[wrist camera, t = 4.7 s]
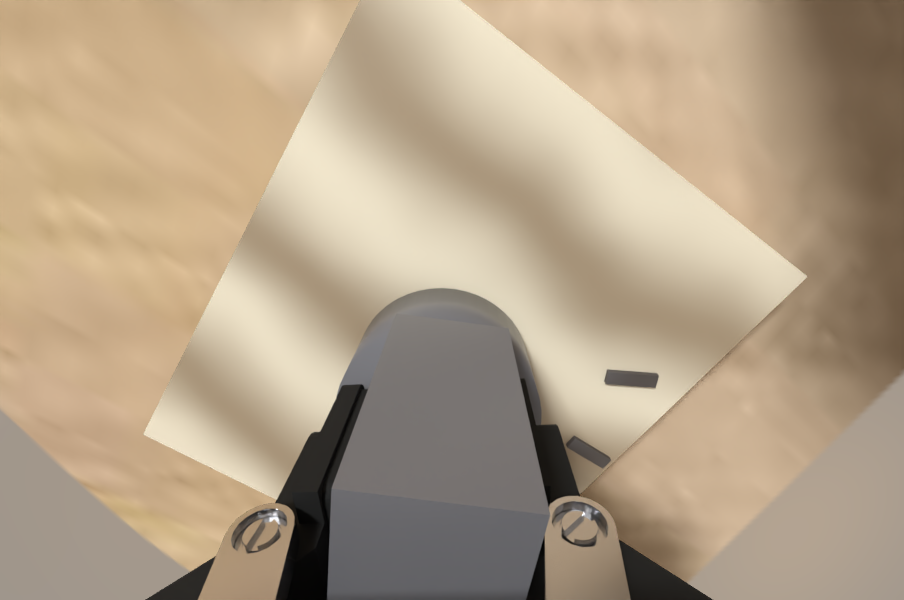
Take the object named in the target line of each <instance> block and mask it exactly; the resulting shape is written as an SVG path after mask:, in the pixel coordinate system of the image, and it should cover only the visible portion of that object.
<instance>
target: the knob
mask: <svg viewBox="0 0 904 600" xmlns="http://www.w3.org/2000/svg"><path fill="white" fill-rule="evenodd" d="M520 378H525V381H526V385H527V389H528V393H529V398H530V402H531V406H532V410H533V414H534V418H535V422H536V425H541V416H542V410H541V403H540V398H539V394H538V390H537V387H536V383H535V380H534V376H533V373H532V369H531V366H530V362H529V358H528V355H527V351H526V348H525V345H524V341H523V339H522V337H521V334H520V332H519V330H518V329H517V327H516V326H515V324H514V323H513V321H512V320H511V319H510V318H509V317H508V316H507V315H506V314H505V313H504V312H503V311H502V310H501V309H500V308H498V307H497V306H496V305H494V304H493V303H491V302H490V301H488V300H486V299H484V298H482V297H480V296H478V295H476V294H473V293H469V292H466V291H462V290H457V289H448V288H434V289H426V290H420V291H416V292H413V293H410V294H407V295H405V296H403V297H400V298H398V299H396V300H395V301H393V302H392V303H390V304H389V305H387V306H386V307H385V308H384V309H382V310H381V311H380V312H379V313H378V314H377V315H376V317H375V318H374V319H373V320H372V321H371V323H370V324H369V326H368V327H367V329H366V331H365V333H364V335H363V337H362V340H361V342H360V344H359V346H358V348H357V350H356V352H355V354H354V356H353V358H352V360H351V362H350V364H349V366H348V368H347V370H346V372H345V374H344V377H343V379H342V381H341V383H340V386H339V389H338V393H339V391H340V389H341V387H342V386H343V385H356V384H362V385H363V386H364V389H368V391H367V393H366V396H365V399H364V402H363V404H362V407H361V410H360V412H359V415H358V418H357V421H356V423H355V426H354V429H353V431H352V434H351V437H350V440H349V442H348V445H347V448H346V450H345V453H344V456H343V459H342V461H341V464H340V467H339V469H338V472H337V475H336V478H335V480H334V483H333V486H332V488H331V513H330V538H329V564H328V589H327V600H526V597H527V594H528V590H529V587H530V584H531V580H532V577H533V573H534V570H535V566H536V563H537V559H538V556H539V553H540V549H541V546H542V542H543V539H544V535H545V532H546V528H547V525H548V521H549V518H550V511H549V507H548V503H547V498H546V494H545V489H544V485H543V480H542V476H541V471H540V467H539V462H538V458H537V453H536V449H535V444H534V440H533V435H532V431H531V426H530V422H529V418H528V413H527V409H526V404H525V400H524V395H523V391H522V386H521V382H520ZM338 393H337V395H338ZM336 397H337V396H336Z"/></svg>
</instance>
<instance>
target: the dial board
mask: <svg viewBox="0 0 904 600" xmlns="http://www.w3.org/2000/svg"><path fill="white" fill-rule="evenodd" d="M807 277H808V276H806V275H805V274H804V273H802V272H801V271H800V270H799V269H797V268H796V267H795V266H794V265H792V264H791V263H790V262H789V261H787V260H786V259H785V258H784V257H782V256H781V255H780V254H779V253H777V252H776V251H775V250H774V249H772V248H771V247H770V246H769V245H767V244H766V243H765V242H763V241H762V240H761V239H760V238H758V237H757V236H756V235H755V234H753V233H752V232H751V231H750V230H748V229H747V228H746V227H745V226H743V225H742V224H741V223H740V222H738V221H737V220H736V219H735V218H733V217H732V216H731V215H729V214H728V213H727V212H726V211H724V210H723V209H722V208H721V207H719V206H718V205H717V204H716V203H714V202H713V201H712V200H711V199H709V198H708V197H707V196H706V195H704V194H703V193H702V192H701V191H699V190H698V189H697V188H696V187H694V186H693V185H692V184H690V183H689V182H688V181H687V180H685V179H684V178H683V177H682V176H680V175H679V174H678V173H677V172H675V171H674V170H673V169H672V168H670V167H669V166H668V165H667V164H665V163H664V162H663V161H662V160H660V159H659V158H658V157H656V156H655V155H654V154H653V153H651V152H650V151H649V150H648V149H646V148H645V147H644V146H643V145H641V144H640V143H639V142H638V141H636V140H635V139H634V138H633V137H631V136H630V135H629V134H628V133H626V132H625V131H624V130H623V129H621V128H620V127H619V126H617V125H616V124H615V123H614V122H612V121H611V120H610V119H609V118H607V117H606V116H605V115H604V114H602V113H601V112H600V111H599V110H597V109H596V108H595V107H594V106H592V105H591V104H590V103H589V102H587V101H586V100H585V99H584V98H582V97H581V96H580V95H578V94H577V93H576V92H575V91H573V90H572V89H571V88H570V87H568V86H567V85H566V84H565V83H563V82H562V81H561V80H560V79H558V78H557V77H556V76H555V75H553V74H552V73H551V72H550V71H548V70H547V69H546V68H544V67H543V66H542V65H541V64H539V63H538V62H537V61H536V60H534V59H533V58H532V57H531V56H529V55H528V54H527V53H526V52H524V51H523V50H522V49H521V48H519V47H518V46H517V45H516V44H514V43H513V42H512V41H511V40H509V39H508V38H507V37H505V36H504V35H503V34H502V33H500V32H499V31H498V30H497V29H495V28H494V27H493V26H492V25H490V24H489V23H488V22H487V21H485V20H484V19H483V18H482V17H480V16H479V15H478V14H477V13H475V12H474V11H473V10H471V9H470V8H469V7H468V6H466V5H465V4H464V3H463V2H461V1H460V0H360V2H359V4H358V6H357V8H356V10H355V12H354V14H353V16H352V18H351V20H350V22H349V24H348V26H347V28H346V30H345V32H344V34H343V36H342V38H341V40H340V42H339V44H338V46H337V48H336V50H335V52H334V54H333V56H332V58H331V60H330V62H329V64H328V66H327V68H326V70H325V72H324V74H323V76H322V78H321V80H320V82H319V84H318V86H317V88H316V90H315V92H314V94H313V96H312V98H311V100H310V102H309V104H308V106H307V108H306V110H305V112H304V114H303V116H302V118H301V120H300V122H299V124H298V126H297V128H296V130H295V132H294V134H293V136H292V138H291V140H290V142H289V144H288V146H287V148H286V150H285V152H284V154H283V156H282V158H281V160H280V162H279V164H278V166H277V168H276V170H275V172H274V174H273V176H272V178H271V180H270V182H269V184H268V186H267V188H266V190H265V192H264V194H263V196H262V198H261V200H260V202H259V204H258V206H257V208H256V210H255V212H254V214H253V216H252V218H251V220H250V222H249V224H248V226H247V228H246V230H245V232H244V234H243V236H242V238H241V240H240V242H239V244H238V246H237V248H236V250H235V252H234V254H233V256H232V258H231V260H230V262H229V264H228V266H227V268H226V270H225V272H224V274H223V276H222V278H221V280H220V282H219V284H218V286H217V288H216V290H215V292H214V294H213V296H212V298H211V300H210V302H209V304H208V306H207V308H206V310H205V312H204V314H203V316H202V318H201V320H200V322H199V324H198V326H197V328H196V330H195V332H194V334H193V336H192V338H191V340H190V342H189V344H188V346H187V348H186V350H185V352H184V354H183V356H182V358H181V360H180V362H179V364H178V366H177V368H176V370H175V372H174V374H173V376H172V378H171V380H170V382H169V384H168V386H167V388H166V390H165V392H164V394H163V396H162V398H161V400H160V402H159V404H158V406H157V408H156V410H155V412H154V414H153V416H152V418H151V420H150V422H149V424H148V426H147V428H146V430H145V432H144V434H143V435H145V436H147V437H149V438H151V439H153V440H155V441H157V442H159V443H161V444H164V445H166V446H168V447H170V448H172V449H174V450H176V451H178V452H180V453H182V454H184V455H186V456H188V457H190V458H192V459H194V460H196V461H198V462H200V463H202V464H204V465H206V466H208V467H210V468H212V469H215V470H217V471H219V472H221V473H223V474H225V475H227V476H229V477H231V478H233V479H235V480H237V481H239V482H241V483H243V484H245V485H247V486H249V487H251V488H253V489H255V490H257V491H259V492H261V493H263V494H265V495H268V496H270V497H272V498H274V499H276V500H277V499H278V497H279V495H280V493H281V491H282V489H283V487H284V485H285V483H286V481H287V479H288V477H289V475H290V473H291V471H292V469H293V467H294V465H295V463H296V461H297V459H298V457H299V455H300V453H301V451H302V449H303V447H304V445H305V443H306V441H307V439H308V437H309V436H310V434H311V433H313V432H320V431H321V429H322V427H323V425H324V423H325V421H326V418H327V416H328V414H329V412H330V410H331V408H332V406H333V404H334V402H335V400H336V396H337V393H338V389H339V386H340V383H341V381H342V379H343V377H344V374H345V372H346V370H347V368H348V366H349V364H350V362H351V360H352V358H353V356H354V354H355V352H356V350H357V348H358V346H359V344H360V342H361V340H362V337H363V335H364V333H365V331H366V329H367V327H368V326H369V324H370V323H371V321H372V320H373V319H374V318H375V317H376V315H377V314H378V313H379V312H380V311H381V310H382V309H384V308H385V307H386V306H387V305H389V304H390V303H392V302H393V301H395V300H396V299H398V298H400V297H403V296H405V295H407V294H410V293H413V292H416V291H420V290H426V289H434V288H448V289H457V290H462V291H466V292H469V293H473V294H476V295H478V296H480V297H482V298H484V299H486V300H488V301H490V302H491V303H493V304H494V305H496V306H497V307H498V308H500V309H501V310H502V311H503V312H504V313H505V314H506V315H507V316H508V317H509V318H510V319H511V320H512V321H513V323H514V324H515V326H516V327H517V329H518V330H519V332H520V334H521V337H522V339H523V341H524V345H525V348H526V351H527V355H528V358H529V362H530V366H531V369H532V373H533V376H534V380H535V383H536V387H537V390H538V394H539V398H540V403H541V410H542V416H541V425H548V424H556V425H557V426H558V428H559V430H560V434H561V437H562V440H563V443H564V446H565V450H566V453H567V456H568V459H569V462H570V465H571V469H572V472H573V475H574V478H575V481H576V485H577V488H578V491H579V494H581V493H582V492H583V491H584V490H585V489H586V488H587V487H588V486H589V485H590V484H591V483H592V482H593V481H595V480H596V479H597V478H598V477H599V476H600V475H601V474H602V473H603V472H604V471H605V470H606V469H607V468H608V467H609V466H610V465H611V464H612V463H613V462H614V461H615V460H616V459H618V458H619V457H620V456H621V455H622V454H623V453H624V452H625V451H626V450H627V449H628V448H629V447H630V446H631V445H632V444H633V443H634V442H635V441H636V440H637V439H638V438H639V437H641V436H642V435H643V434H644V433H645V432H646V431H647V430H648V429H649V428H650V427H651V426H652V425H653V424H654V423H655V422H656V421H657V420H658V419H659V418H660V417H661V416H662V415H664V414H665V413H666V412H667V411H668V410H669V409H670V408H671V407H672V406H673V405H674V404H675V403H676V402H677V401H678V400H679V399H680V398H681V397H682V396H683V395H684V394H685V393H686V392H688V391H689V390H690V389H691V388H692V387H693V386H694V385H695V384H696V383H697V382H698V381H699V380H700V379H701V378H702V377H703V376H704V375H705V374H706V373H707V372H708V371H709V370H711V369H712V368H713V367H714V366H715V365H716V364H717V363H718V362H719V361H720V360H721V359H722V358H723V357H724V356H725V355H726V354H727V353H728V352H729V351H730V350H731V349H732V348H734V347H735V346H736V345H737V344H738V343H739V342H740V341H741V340H742V339H743V338H744V337H745V336H746V335H747V334H748V333H749V332H750V331H751V330H752V329H753V328H754V327H755V326H757V325H758V324H759V323H760V322H761V321H762V320H763V319H764V318H765V317H766V316H767V315H768V314H769V313H770V312H771V311H772V310H773V309H774V308H775V307H776V306H777V305H778V304H779V303H781V302H782V301H783V300H784V299H785V298H786V297H787V296H788V295H789V294H790V293H791V292H792V291H793V290H794V289H795V288H796V287H797V286H798V285H799V284H800V283H801V282H802V281H804V280H805V279H806V278H807Z"/></svg>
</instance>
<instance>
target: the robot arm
mask: <svg viewBox="0 0 904 600" xmlns="http://www.w3.org/2000/svg"><path fill="white" fill-rule="evenodd" d="M520 382H521V386H522V391H523V395H524V400H525V404H526V409H527V413H528V418H529V422H530V426H531V431H532V435H533V440H534V444H535V449H536V453H537V458H538V462H539V467H540V471H541V476H542V480H543V485H544V489H545V494H546V498H547V503H548V507H549V511H550V518H549V521H548V525H547V528H546V532H545V535H544V539H543V542H542V546H541V549H540V553H539V556H538V559H537V563H536V566H535V570H534V573H533V577H532V580H531V584H530V587H529V590H528V594H527V597H526V600H712V599H711V598H709V597H708V596H706V595H705V594H703V593H701V592H700V591H698V590H697V589H695V588H694V587H692V586H691V585H689V584H687V583H686V582H684V581H683V580H681V579H680V578H678V577H677V576H675V575H673V574H672V573H670V572H669V571H667V570H666V569H664V568H662V567H661V566H659V565H658V564H656V563H655V562H653V561H651V560H650V559H648V558H647V557H645V556H644V555H642V554H641V553H639V552H637V551H636V550H634V549H633V548H631V547H630V546H628V545H626V544H625V543H623V542H622V541H620V540H619V538H618V533H617V528H616V525H615V522H614V520H613V517H612V516H611V515H610V514H609V512H608V511H607V510H606V509H605V508H604V507H602V506H601V505H600V504H599V503H597V502H595V501H593V500H590V499H588V498H585V497H580V494H579V491H578V488H577V485H576V481H575V478H574V475H573V472H572V469H571V465H570V462H569V459H568V456H567V453H566V450H565V446H564V443H563V440H562V437H561V434H560V430H559V428H558V426H557V425H556V424H548V425H536V422H535V418H534V414H533V410H532V406H531V402H530V398H529V393H528V389H527V385H526V381H525V378H520ZM367 391H368V389H364V386H363V385H362V384H356V385H343V386H342V387H341V389H340V391H339V393H338V395H337V397H336V400H335V402H334V404H333V406H332V408H331V410H330V412H329V414H328V416H327V418H326V421H325V423H324V425H323V427H322V429H321V431H320V432H313V433H311V434H310V436H309V437H308V439H307V441H306V443H305V445H304V447H303V449H302V451H301V453H300V455H299V457H298V459H297V461H296V463H295V465H294V467H293V469H292V471H291V473H290V475H289V477H288V479H287V481H286V483H285V485H284V487H283V489H282V491H281V493H280V495H279V497H278V499H277V501H276V503H268V504H264V505H260V506H257V507H255V508H253V509H251V510H249V511H247V512H246V513H244V514H243V515H241V516H240V517H238V518H237V519H236V520H235V522H234V523H233V524H232V525H231V526H230V527H229V529H228V531H227V532H226V534H225V536H224V538H223V541H222V543H221V546H220V548H219V550H218V553H217V555H216V556H215V557H214V558H212V559H210V560H209V561H207V562H206V563H204V564H202V565H201V566H199V567H198V568H196V569H194V570H193V571H191V572H190V573H188V574H186V575H185V576H183V577H181V578H180V579H178V580H177V581H175V582H173V583H172V584H170V585H169V586H167V587H165V588H164V589H162V590H160V591H159V592H157V593H156V594H154V595H153V596H151V597H149V598H148V599H146V600H327V589H328V564H329V538H330V513H331V488H332V486H333V483H334V480H335V478H336V475H337V472H338V469H339V467H340V464H341V461H342V459H343V456H344V453H345V450H346V448H347V445H348V442H349V440H350V437H351V434H352V431H353V429H354V426H355V423H356V421H357V418H358V415H359V412H360V410H361V407H362V404H363V402H364V399H365V396H366V393H367Z"/></svg>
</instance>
